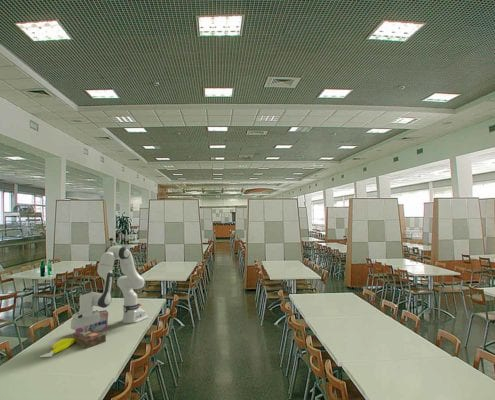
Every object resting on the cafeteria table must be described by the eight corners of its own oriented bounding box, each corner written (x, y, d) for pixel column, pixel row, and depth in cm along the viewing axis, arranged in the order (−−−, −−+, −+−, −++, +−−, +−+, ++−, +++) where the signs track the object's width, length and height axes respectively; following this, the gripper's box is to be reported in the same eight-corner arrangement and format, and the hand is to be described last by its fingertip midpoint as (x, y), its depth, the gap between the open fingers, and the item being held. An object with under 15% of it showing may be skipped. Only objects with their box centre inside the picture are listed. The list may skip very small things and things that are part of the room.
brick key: (94, 338, 225) (94, 332, 225) (98, 339, 222) (98, 334, 222) (87, 340, 221) (87, 335, 221) (91, 342, 218) (91, 336, 218)
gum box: (107, 326, 257) (107, 309, 257) (109, 328, 250) (109, 312, 251) (74, 332, 243) (75, 315, 244) (76, 335, 236) (76, 317, 237)
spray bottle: (76, 341, 223) (54, 358, 198) (61, 342, 223) (37, 359, 199) (76, 337, 223) (54, 354, 198) (61, 338, 223) (37, 354, 199)
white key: (87, 335, 230) (87, 330, 231) (90, 337, 228) (90, 331, 228) (80, 338, 226) (80, 332, 226) (83, 339, 223) (83, 333, 224)
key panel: (91, 335, 235) (91, 329, 236) (105, 341, 224) (105, 334, 224) (72, 342, 224) (72, 335, 224) (86, 348, 213) (86, 340, 213)
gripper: (97, 308, 238) (96, 327, 237) (69, 316, 221) (69, 335, 221) (101, 310, 235) (101, 328, 234) (74, 317, 218) (73, 337, 217)
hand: (85, 332), depth 227 cm, fingers closed, pressing on white key
